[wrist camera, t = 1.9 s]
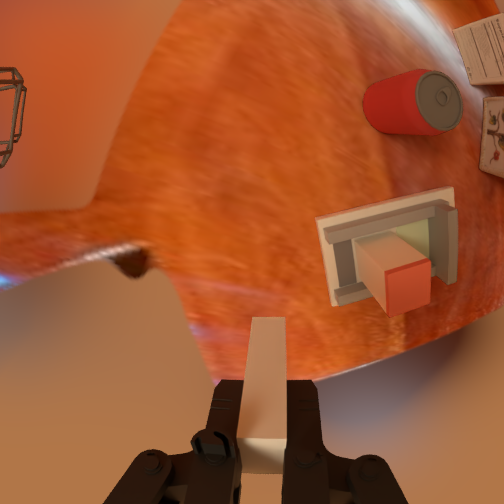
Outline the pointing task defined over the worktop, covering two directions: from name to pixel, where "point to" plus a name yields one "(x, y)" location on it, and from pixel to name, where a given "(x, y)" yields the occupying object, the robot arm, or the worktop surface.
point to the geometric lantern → (15, 109)
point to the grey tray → (398, 222)
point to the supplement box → (483, 49)
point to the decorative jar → (493, 136)
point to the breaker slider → (393, 272)
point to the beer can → (414, 104)
